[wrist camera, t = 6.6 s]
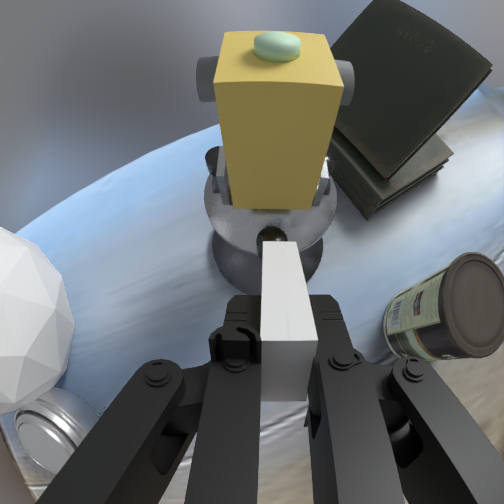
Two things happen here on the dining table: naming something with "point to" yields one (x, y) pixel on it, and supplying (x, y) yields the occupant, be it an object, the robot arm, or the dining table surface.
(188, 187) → the dining table surface
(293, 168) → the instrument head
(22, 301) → the lamp
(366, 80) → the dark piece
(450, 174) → the dining table surface
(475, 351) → the coffee can
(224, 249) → the stand
